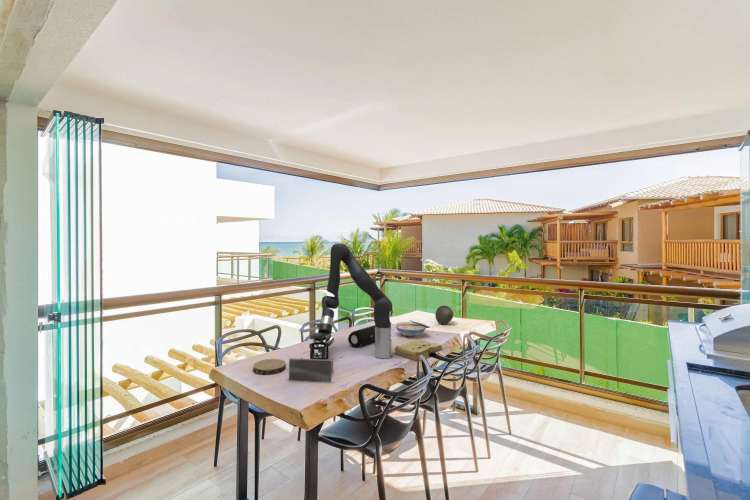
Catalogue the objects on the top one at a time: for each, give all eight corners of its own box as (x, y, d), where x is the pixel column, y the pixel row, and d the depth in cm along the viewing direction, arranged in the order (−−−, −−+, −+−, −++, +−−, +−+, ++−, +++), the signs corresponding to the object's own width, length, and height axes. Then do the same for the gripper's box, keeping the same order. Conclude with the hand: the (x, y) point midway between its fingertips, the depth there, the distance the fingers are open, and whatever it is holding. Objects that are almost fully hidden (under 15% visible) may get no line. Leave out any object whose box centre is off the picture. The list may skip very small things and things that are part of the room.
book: (415, 362, 198) (415, 351, 198) (394, 355, 210) (394, 345, 210) (442, 353, 214) (443, 343, 214) (421, 347, 227) (421, 337, 227)
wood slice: (289, 372, 180) (289, 366, 180) (256, 377, 172) (256, 371, 172) (280, 362, 194) (280, 357, 194) (250, 367, 186) (250, 361, 186)
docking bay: (297, 369, 184) (297, 350, 183) (336, 370, 182) (336, 351, 182) (289, 380, 169) (289, 359, 169) (330, 381, 168) (330, 360, 168)
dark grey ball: (435, 325, 283) (435, 307, 282) (435, 321, 297) (435, 303, 296) (453, 326, 280) (453, 307, 280) (452, 322, 294) (452, 304, 294)
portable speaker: (358, 349, 219) (359, 333, 219) (346, 346, 225) (347, 330, 225) (383, 340, 239) (383, 325, 239) (371, 338, 245) (372, 323, 245)
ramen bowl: (388, 332, 259) (388, 321, 259) (415, 329, 269) (415, 319, 269) (405, 341, 237) (405, 329, 237) (434, 338, 246) (434, 326, 246)
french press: (314, 372, 180) (315, 326, 179) (304, 367, 187) (304, 323, 186) (332, 366, 189) (333, 323, 188) (322, 362, 195) (322, 320, 194)
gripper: (313, 322, 202) (307, 350, 190) (336, 322, 201) (331, 351, 189) (315, 328, 207) (309, 356, 195) (338, 329, 206) (333, 357, 194)
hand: (320, 354), depth 192 cm, fingers closed
